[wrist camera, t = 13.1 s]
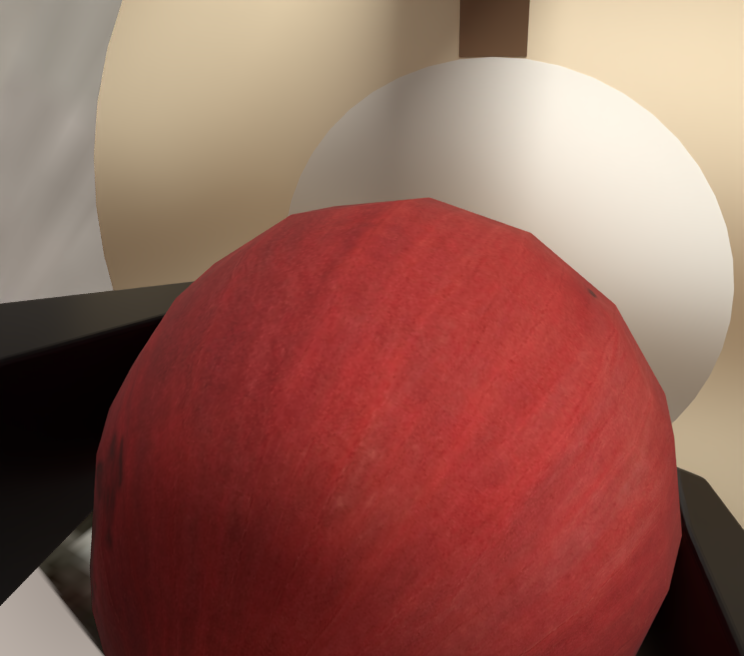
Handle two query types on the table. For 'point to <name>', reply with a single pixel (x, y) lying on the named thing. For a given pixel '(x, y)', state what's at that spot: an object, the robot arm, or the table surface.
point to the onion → (386, 453)
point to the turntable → (455, 153)
